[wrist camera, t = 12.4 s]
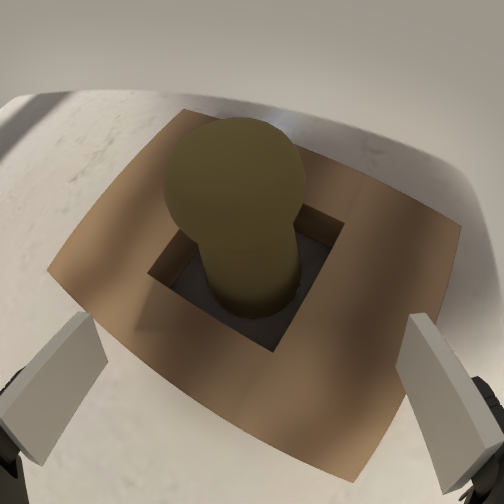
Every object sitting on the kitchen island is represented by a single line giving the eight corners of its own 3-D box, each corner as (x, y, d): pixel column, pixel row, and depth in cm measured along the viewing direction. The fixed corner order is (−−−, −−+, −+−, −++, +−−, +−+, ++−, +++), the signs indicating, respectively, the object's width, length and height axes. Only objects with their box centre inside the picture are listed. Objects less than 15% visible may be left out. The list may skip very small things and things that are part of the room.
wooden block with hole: (74, 287, 20) (46, 270, 17) (193, 138, 25) (183, 108, 22) (339, 465, 14) (353, 483, 10) (438, 249, 19) (461, 225, 15)
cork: (244, 215, 21) (217, 81, 11) (319, 260, 19) (353, 133, 9) (189, 282, 19) (106, 177, 9) (264, 338, 17) (244, 274, 7)
